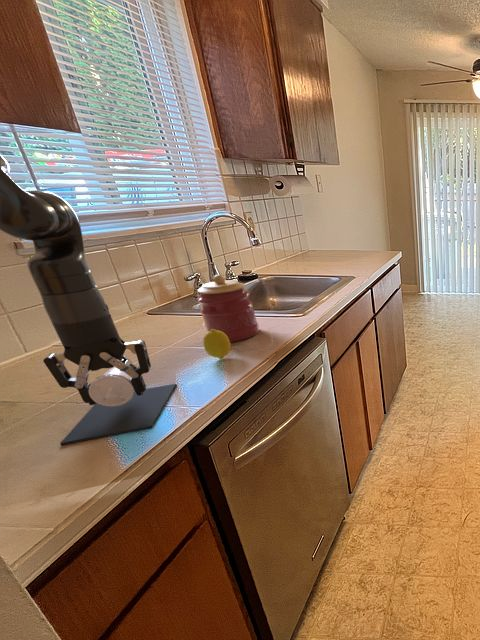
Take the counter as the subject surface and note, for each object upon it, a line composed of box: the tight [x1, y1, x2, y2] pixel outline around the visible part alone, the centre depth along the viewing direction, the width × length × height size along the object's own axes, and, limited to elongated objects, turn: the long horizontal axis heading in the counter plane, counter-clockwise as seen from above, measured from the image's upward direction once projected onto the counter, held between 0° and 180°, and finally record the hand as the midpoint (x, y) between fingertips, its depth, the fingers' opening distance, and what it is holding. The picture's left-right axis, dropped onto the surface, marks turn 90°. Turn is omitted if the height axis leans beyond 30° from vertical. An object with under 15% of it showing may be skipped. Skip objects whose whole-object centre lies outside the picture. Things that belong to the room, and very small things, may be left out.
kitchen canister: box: [196, 274, 260, 343], centre depth 113 cm, size 13×13×18 cm
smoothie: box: [89, 367, 135, 407], centre depth 76 cm, size 6×6×14 cm
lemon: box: [202, 329, 232, 360], centre depth 99 cm, size 6×6×8 cm
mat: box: [59, 383, 177, 446], centre depth 78 cm, size 13×18×1 cm
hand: (118, 398), depth 76 cm, fingers closed on smoothie, 6 cm apart
